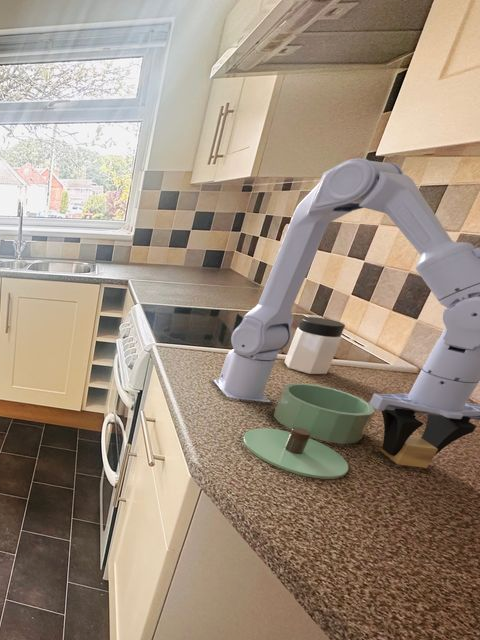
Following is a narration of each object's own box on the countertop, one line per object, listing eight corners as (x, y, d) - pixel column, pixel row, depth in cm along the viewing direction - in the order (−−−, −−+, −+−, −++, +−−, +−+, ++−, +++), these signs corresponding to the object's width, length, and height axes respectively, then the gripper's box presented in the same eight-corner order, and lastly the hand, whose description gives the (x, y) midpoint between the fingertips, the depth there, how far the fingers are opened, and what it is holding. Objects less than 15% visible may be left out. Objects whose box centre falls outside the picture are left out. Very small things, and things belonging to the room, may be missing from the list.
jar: (307, 362, 108) (325, 317, 103) (335, 374, 100) (356, 326, 95) (275, 362, 107) (292, 316, 102) (301, 374, 99) (321, 326, 94)
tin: (261, 407, 82) (271, 379, 80) (333, 415, 80) (346, 387, 78) (292, 439, 71) (305, 409, 69) (377, 450, 69) (393, 419, 66)
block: (378, 453, 68) (389, 432, 67) (406, 456, 68) (418, 435, 66) (395, 467, 65) (407, 445, 63) (425, 471, 64) (438, 449, 62)
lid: (229, 428, 74) (237, 405, 72) (315, 440, 71) (326, 416, 69) (262, 474, 62) (272, 447, 60) (367, 489, 59) (381, 462, 57)
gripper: (411, 379, 58) (368, 461, 63) (539, 392, 55) (482, 476, 61) (377, 362, 64) (341, 437, 70) (490, 373, 61) (443, 450, 67)
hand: (404, 454), depth 66 cm, fingers closed on block, 4 cm apart
